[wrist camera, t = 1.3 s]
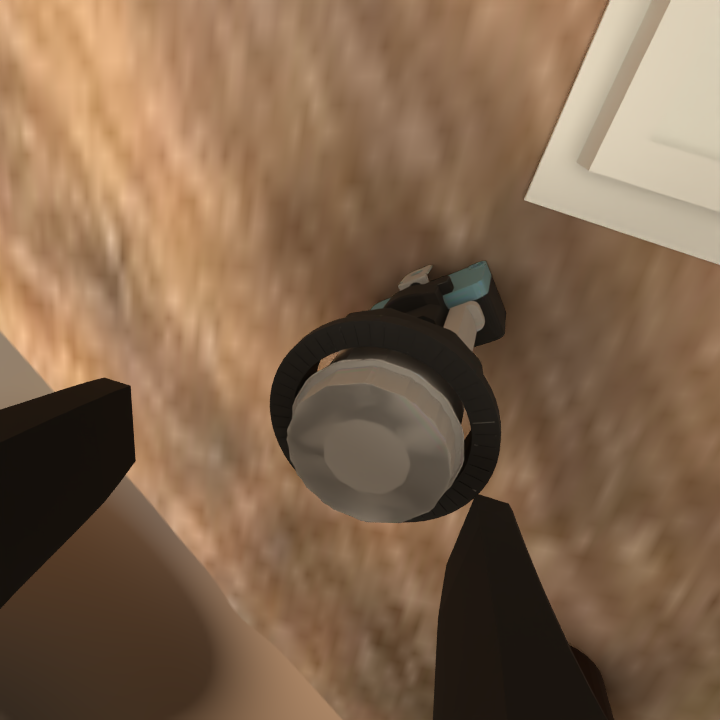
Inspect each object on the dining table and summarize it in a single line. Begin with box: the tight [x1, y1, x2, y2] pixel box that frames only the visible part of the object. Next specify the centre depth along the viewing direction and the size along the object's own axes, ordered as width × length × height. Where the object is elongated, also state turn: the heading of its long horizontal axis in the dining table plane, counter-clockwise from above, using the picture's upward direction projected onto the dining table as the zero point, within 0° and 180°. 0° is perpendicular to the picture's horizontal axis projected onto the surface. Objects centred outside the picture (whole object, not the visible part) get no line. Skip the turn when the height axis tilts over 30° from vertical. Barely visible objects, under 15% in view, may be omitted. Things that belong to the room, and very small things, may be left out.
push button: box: [270, 261, 506, 523], centre depth 15 cm, size 7×5×10 cm
